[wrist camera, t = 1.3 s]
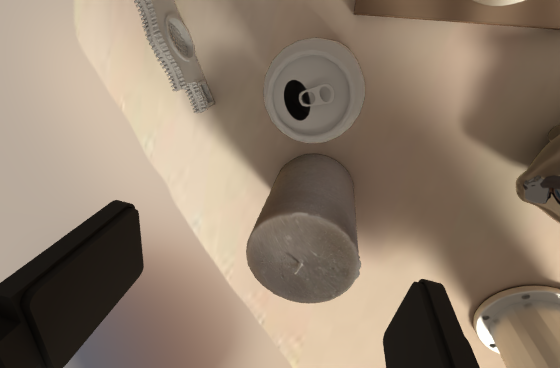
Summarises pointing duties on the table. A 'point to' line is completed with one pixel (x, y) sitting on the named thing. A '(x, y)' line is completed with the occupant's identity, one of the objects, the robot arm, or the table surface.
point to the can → (314, 90)
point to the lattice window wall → (175, 50)
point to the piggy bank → (543, 178)
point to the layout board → (469, 11)
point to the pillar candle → (307, 232)
